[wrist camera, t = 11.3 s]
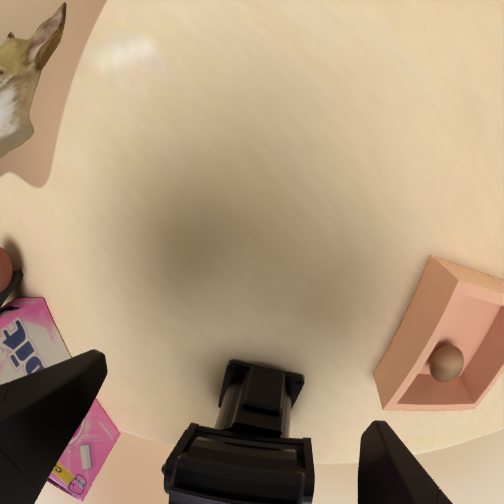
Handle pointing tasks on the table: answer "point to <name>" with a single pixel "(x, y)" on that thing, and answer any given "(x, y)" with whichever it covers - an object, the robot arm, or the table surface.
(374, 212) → the table surface
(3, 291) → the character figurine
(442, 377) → the ball
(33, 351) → the gum box
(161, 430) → the table surface
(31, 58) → the ceramic sculpture
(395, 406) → the dish
